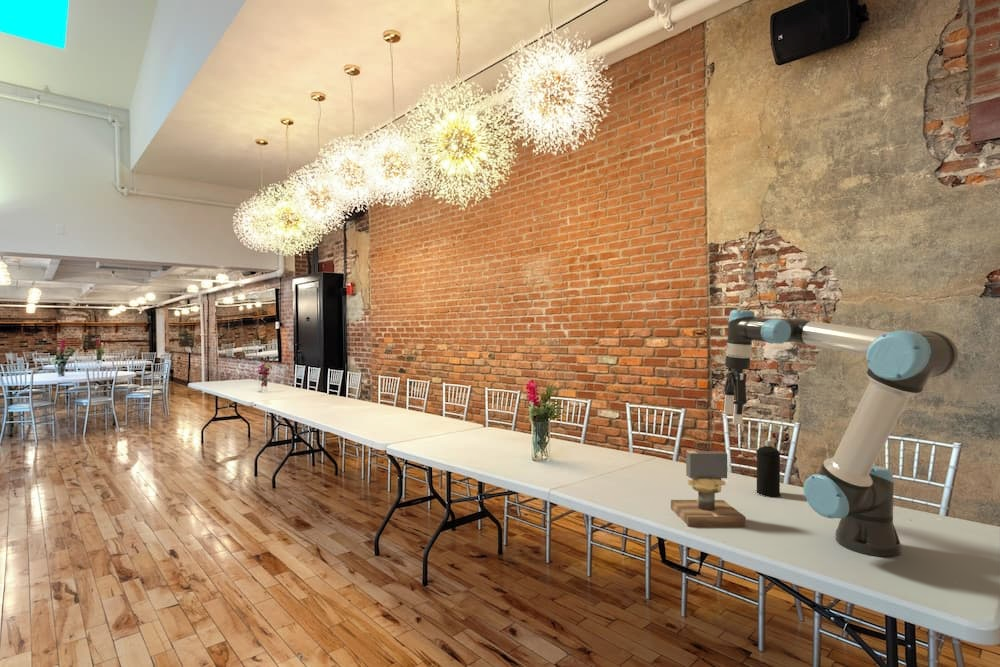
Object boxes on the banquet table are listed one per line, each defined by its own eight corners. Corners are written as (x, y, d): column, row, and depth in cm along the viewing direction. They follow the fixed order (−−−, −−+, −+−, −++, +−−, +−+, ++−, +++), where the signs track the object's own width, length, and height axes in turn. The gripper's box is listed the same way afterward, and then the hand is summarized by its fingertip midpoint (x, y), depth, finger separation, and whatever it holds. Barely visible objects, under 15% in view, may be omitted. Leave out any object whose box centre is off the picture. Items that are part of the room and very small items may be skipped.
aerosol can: (779, 498, 185) (780, 444, 185) (754, 495, 190) (754, 441, 189) (781, 492, 192) (781, 440, 192) (756, 489, 197) (757, 437, 196)
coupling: (730, 493, 162) (731, 455, 162) (693, 493, 162) (693, 455, 162) (718, 484, 171) (718, 448, 171) (683, 484, 171) (683, 448, 171)
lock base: (745, 526, 159) (745, 497, 159) (688, 526, 159) (688, 497, 159) (723, 508, 175) (723, 482, 175) (670, 508, 175) (670, 482, 175)
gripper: (718, 351, 182) (713, 409, 184) (734, 360, 158) (728, 427, 160) (741, 352, 181) (735, 410, 183) (760, 362, 156) (754, 429, 158)
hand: (732, 418), depth 171 cm, fingers open, 13 cm apart
